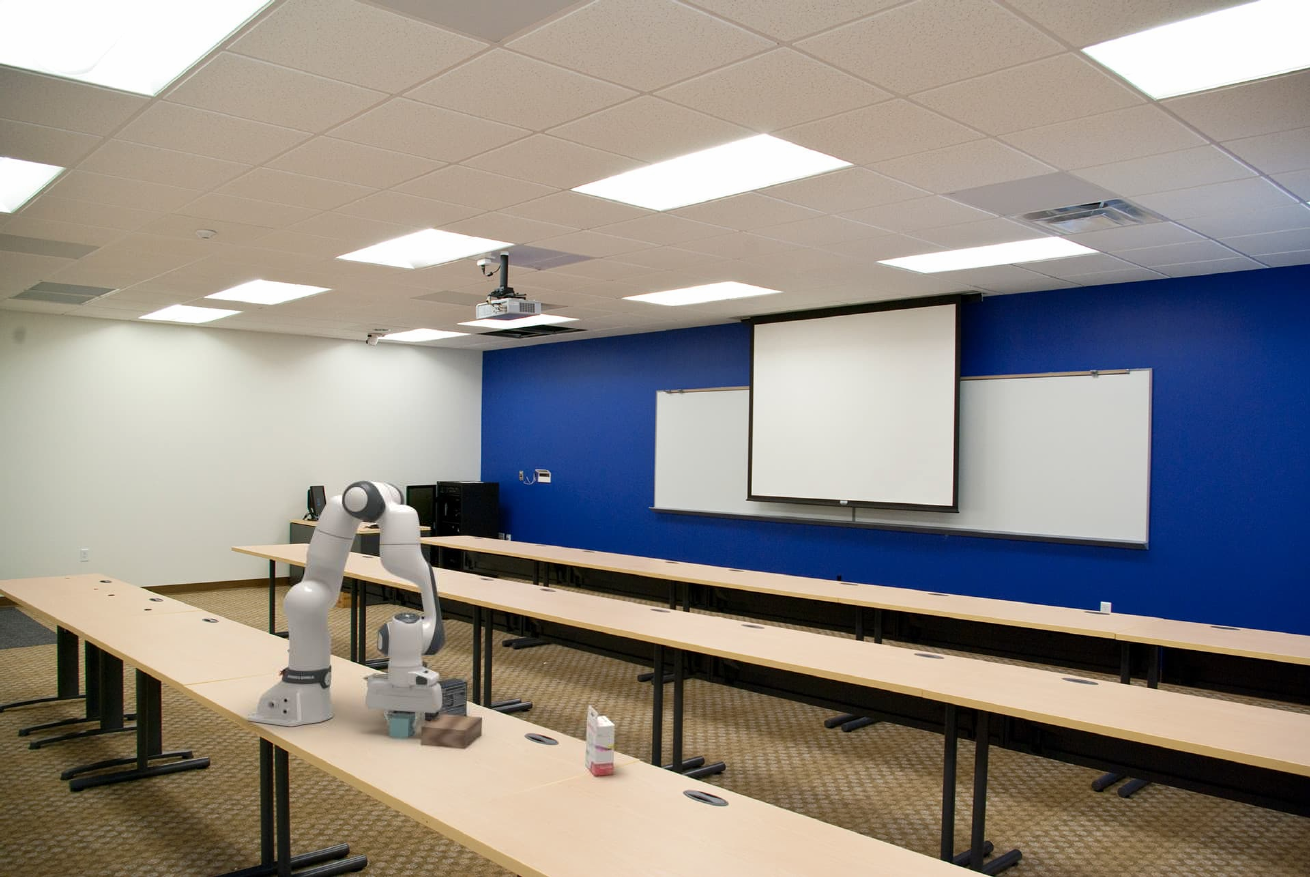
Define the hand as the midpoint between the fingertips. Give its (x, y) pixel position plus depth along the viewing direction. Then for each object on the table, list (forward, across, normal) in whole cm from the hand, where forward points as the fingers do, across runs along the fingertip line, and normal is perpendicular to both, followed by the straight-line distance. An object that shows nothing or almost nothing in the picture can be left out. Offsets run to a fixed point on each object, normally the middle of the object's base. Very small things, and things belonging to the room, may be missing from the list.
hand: (402, 727), depth 228 cm
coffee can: (+2, -7, +21) cm, 22 cm away
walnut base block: (+2, +14, -1) cm, 14 cm away
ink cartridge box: (+2, +56, -16) cm, 58 cm away
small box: (+2, +6, +17) cm, 18 cm away
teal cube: (+2, 0, 0) cm, 2 cm away
